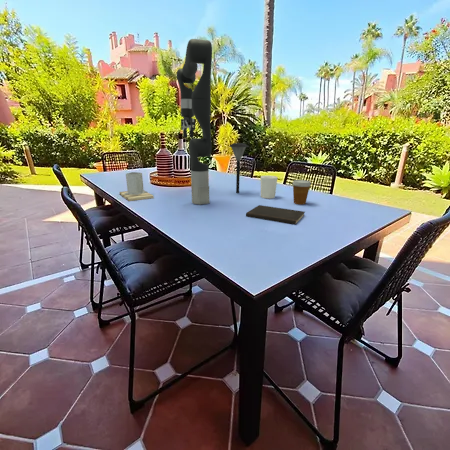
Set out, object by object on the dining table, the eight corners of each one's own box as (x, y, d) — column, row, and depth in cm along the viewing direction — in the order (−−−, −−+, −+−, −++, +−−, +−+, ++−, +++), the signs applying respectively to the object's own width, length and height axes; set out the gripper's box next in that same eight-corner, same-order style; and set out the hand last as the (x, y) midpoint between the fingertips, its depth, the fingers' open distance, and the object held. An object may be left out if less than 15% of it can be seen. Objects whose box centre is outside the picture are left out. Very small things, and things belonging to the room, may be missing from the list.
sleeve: (147, 192, 162) (145, 172, 158) (137, 195, 154) (135, 174, 150) (134, 191, 165) (132, 171, 161) (124, 194, 157) (122, 173, 153)
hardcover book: (259, 209, 137) (259, 205, 137) (304, 216, 127) (305, 211, 126) (245, 217, 124) (245, 212, 123) (295, 226, 114) (295, 221, 113)
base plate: (153, 198, 156) (152, 188, 154) (128, 201, 148) (127, 191, 147) (142, 191, 171) (141, 183, 170) (119, 194, 164) (118, 185, 162)
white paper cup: (277, 199, 156) (278, 178, 152) (260, 198, 156) (261, 178, 152) (274, 195, 165) (276, 175, 161) (258, 195, 165) (259, 175, 161)
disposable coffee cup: (288, 204, 146) (290, 181, 142) (293, 200, 154) (295, 179, 150) (306, 206, 142) (309, 183, 138) (310, 202, 150) (312, 180, 146)
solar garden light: (247, 191, 175) (249, 143, 165) (247, 195, 164) (249, 143, 154) (228, 190, 176) (229, 142, 166) (227, 195, 165) (227, 143, 155)
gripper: (176, 108, 161) (177, 137, 166) (186, 106, 150) (188, 137, 155) (187, 109, 165) (188, 137, 170) (198, 107, 154) (199, 137, 159)
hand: (188, 137), depth 163 cm, fingers open, 8 cm apart
